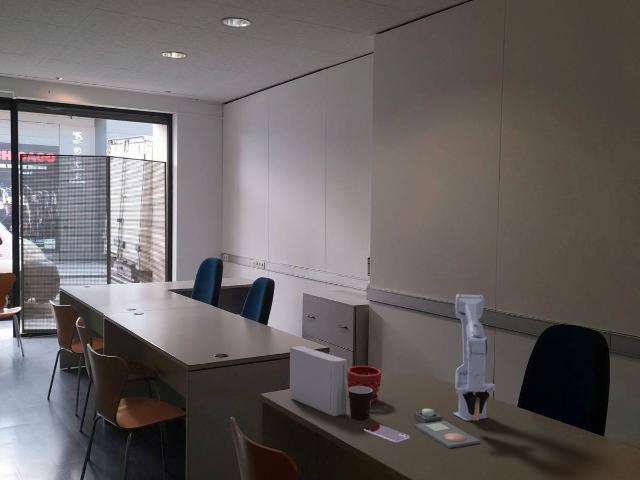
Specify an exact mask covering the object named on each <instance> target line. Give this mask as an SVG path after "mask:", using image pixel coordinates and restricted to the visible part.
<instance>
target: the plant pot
mask: <svg viewBox="0 0 640 480" xmlns="http://www.w3.org/2000/svg"><path fill="white" fill-rule="evenodd" d="M363 373H364V374H363ZM381 381H382V371H381V370H380V369H378V368H376V367H373V366H369V365H356V366H351V367H349V368H347V383H346V385H347V387H348V389H349V388H350V387H354V386H364V387H369V388H371V389H372V390H373V391H372V398H371V404H372V403H375V402H376V401H377V400H378V398H379V395H378V392H379V390H380V386H381ZM347 396H348V398H349V392H348V394H347Z"/></svg>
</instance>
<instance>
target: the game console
mask: <svg viewBox="0 0 640 480" xmlns="http://www.w3.org/2000/svg"><path fill="white" fill-rule="evenodd" d="M289 352H290V353H289V393H290V395H291V398H292V400H295V401H296V402H299V403H301V404H304V405H305V406H309V407H311V408H312V409H313V408H314V409H316V410H318V411H320V412H323V413H325V414H328V415H330V416H332V417H337V416H342V415H346V414H347V383H348V381H347V370H348V367H347V366H348V360H347V359H346V358H342V357H339V356H335V355H332V354H330V353H329V354H328V353H327V352H322V351H319V350H316V349H313V348H310V347H308V346H304V345H297V346H291V347H289Z"/></svg>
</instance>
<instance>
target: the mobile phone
mask: <svg viewBox="0 0 640 480" xmlns="http://www.w3.org/2000/svg"><path fill="white" fill-rule="evenodd" d="M363 430H364V431H365V432H367V433H369V434H372V435H375V436H377V437H381V438H382V439H385V440H388V441H389V442H392V443H400V442H402V441H406V440H408V439H410V438H411V436H410V435H409V434H406V433H403V432H400V431H398V430H396V429H393V428H390V427H388V426H384V425H382V424H378V423H376V424H373V425H370V426H367V427H364V429H363Z"/></svg>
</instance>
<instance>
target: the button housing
mask: <svg viewBox="0 0 640 480" xmlns="http://www.w3.org/2000/svg"><path fill="white" fill-rule="evenodd" d="M413 419H414V420H416V421H418V422H419V423H420V424H421V423H428V422H435V421H442V420H443V416H442V415H440V414H438V413H436V412H434V417H427V418H425V417H424V416H422V411H418V412H417V411H415V412H413Z"/></svg>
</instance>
